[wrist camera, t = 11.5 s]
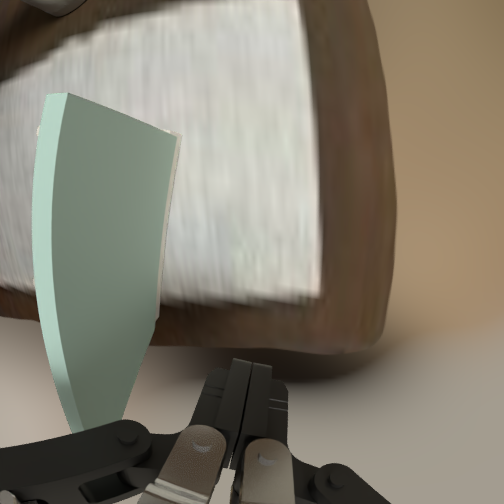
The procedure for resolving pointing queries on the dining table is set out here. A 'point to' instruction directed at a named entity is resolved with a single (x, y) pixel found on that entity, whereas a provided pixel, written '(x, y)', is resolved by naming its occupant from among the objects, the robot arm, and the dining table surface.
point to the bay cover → (97, 250)
